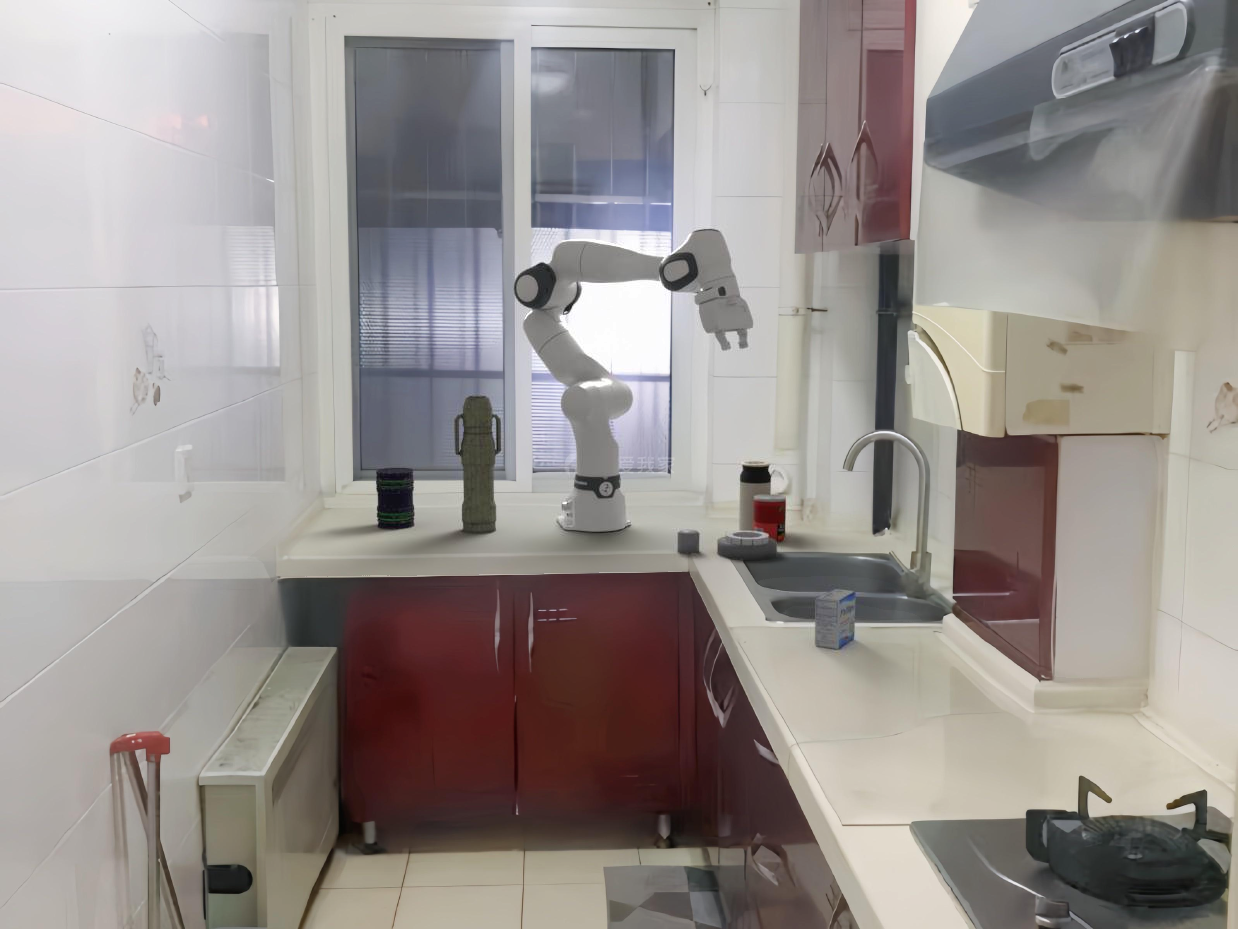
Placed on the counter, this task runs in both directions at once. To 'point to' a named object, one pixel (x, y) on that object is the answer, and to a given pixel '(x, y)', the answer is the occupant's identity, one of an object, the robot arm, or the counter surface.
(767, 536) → the grey round peg base
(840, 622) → the medicine box
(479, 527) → the thermos
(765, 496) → the canned food
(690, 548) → the cap
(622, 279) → the robot arm
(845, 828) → the counter surface
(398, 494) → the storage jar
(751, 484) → the travel mug
